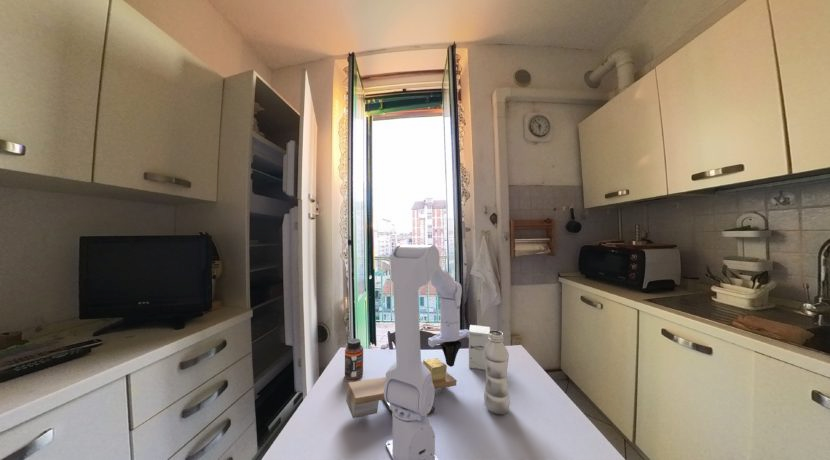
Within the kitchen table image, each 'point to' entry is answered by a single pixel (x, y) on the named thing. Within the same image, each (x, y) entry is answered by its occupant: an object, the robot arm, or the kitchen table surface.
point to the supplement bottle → (354, 359)
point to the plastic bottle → (496, 374)
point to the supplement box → (477, 346)
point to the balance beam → (376, 394)
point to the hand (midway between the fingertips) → (450, 364)
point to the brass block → (436, 369)
